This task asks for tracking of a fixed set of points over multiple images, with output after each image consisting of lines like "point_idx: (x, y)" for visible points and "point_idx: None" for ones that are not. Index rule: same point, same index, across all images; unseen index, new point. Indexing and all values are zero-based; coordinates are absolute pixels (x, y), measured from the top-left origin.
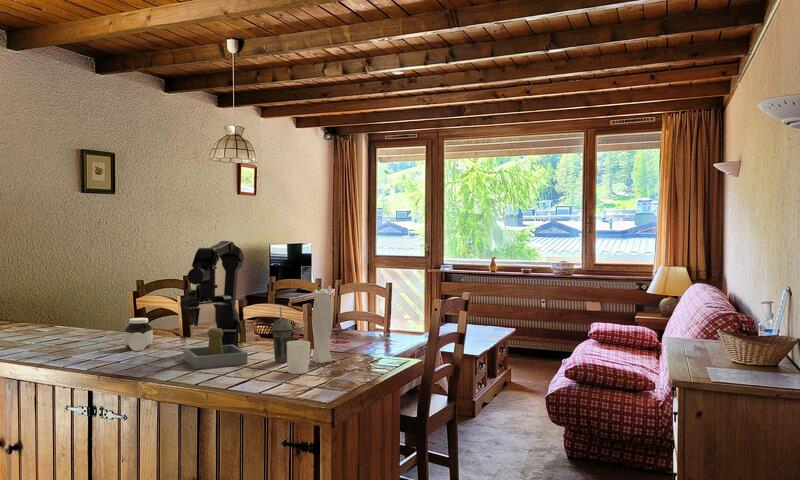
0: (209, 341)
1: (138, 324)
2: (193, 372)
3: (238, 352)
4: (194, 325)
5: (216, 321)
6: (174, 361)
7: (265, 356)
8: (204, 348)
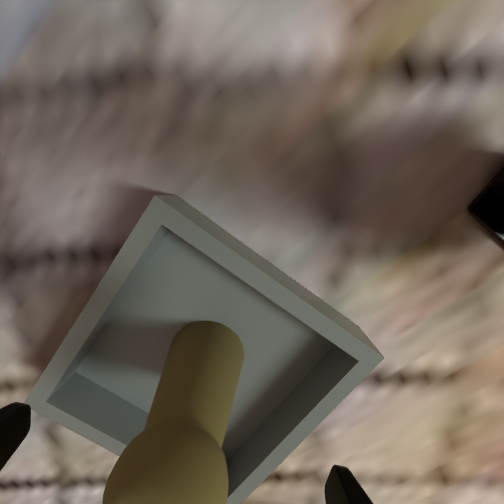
0: (149, 413)
1: None
2: (27, 392)
3: (267, 442)
4: (4, 411)
5: (337, 500)
6: (121, 188)
7: (379, 445)
8: (243, 278)
